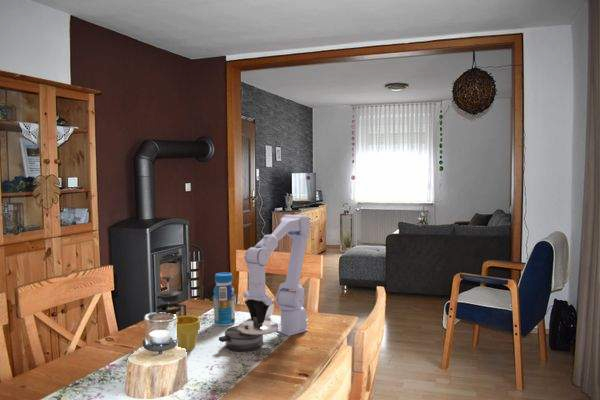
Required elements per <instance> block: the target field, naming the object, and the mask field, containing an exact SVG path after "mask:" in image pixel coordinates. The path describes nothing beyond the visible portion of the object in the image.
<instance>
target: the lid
mask: <svg viewBox="0 0 600 400" xmlns="http://www.w3.org/2000/svg"><path fill="white" fill-rule="evenodd" d="M237 326H238V327H237V329H238V331H239V332H240V333H243V334H247V335H263V336H264V335H265V336H266V335H269V334H273V333H275V332H278V331H277V330H278V329H279V324H278V323H277V322H275V321H271V320H268V319H267V320H264V323H260V324H259V323H258V321H257V315H254V316H253V321H252V320H247V321H244V322H241V323H239V324H238V325H237Z"/></svg>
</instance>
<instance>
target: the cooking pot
mask: <svg viewBox="0 0 600 400" xmlns="http://www.w3.org/2000/svg"><path fill="white" fill-rule="evenodd" d="M237 327H238V325H235V326H234V325H233V326H230V327H229V328H228V327H227V328H226V329H225V330H224V335H223V336H219V337H218V341H220V343H225V349H227V350H229V351H231V352H239V353H247V352H248V353H249V352H253V351H257V350H259V349H261V348H262V347H263V345H264V335H247V334H243V333H240V332H239V331H238V329H237Z"/></svg>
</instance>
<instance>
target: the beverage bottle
mask: <svg viewBox="0 0 600 400" xmlns="http://www.w3.org/2000/svg"><path fill="white" fill-rule="evenodd" d="M214 282H215V283H216V284H215V286H214V288H213V297H212V300H213V314H214V317H213V318H214V321H213V323H214V325H215V326H218V327H228V326H232V325H234V324H235V322H236V318H235V315H236V314H235V299H236V297H235V294H234V293H235V288H234V286H233V284H232V282H233V274H232V273H231V272H227V271H226V272H225V271H223V272H218V273H215V275H214Z"/></svg>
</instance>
